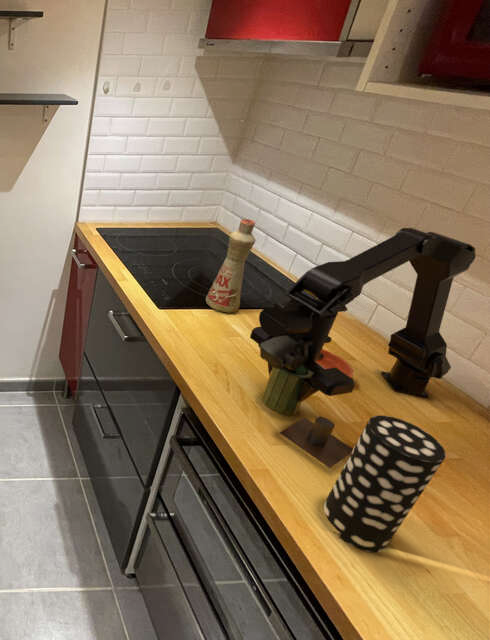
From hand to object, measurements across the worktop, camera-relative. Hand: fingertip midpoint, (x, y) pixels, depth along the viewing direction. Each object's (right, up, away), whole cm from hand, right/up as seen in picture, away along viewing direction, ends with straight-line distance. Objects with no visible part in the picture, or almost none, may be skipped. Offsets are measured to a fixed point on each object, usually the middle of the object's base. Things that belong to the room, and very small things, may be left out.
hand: (285, 389), depth 94 cm
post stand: (+1, -9, -7) cm, 11 cm away
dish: (+16, 0, +12) cm, 21 cm away
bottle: (+10, +12, +39) cm, 42 cm away
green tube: (0, -5, +2) cm, 5 cm away
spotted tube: (-5, -15, -21) cm, 27 cm away
